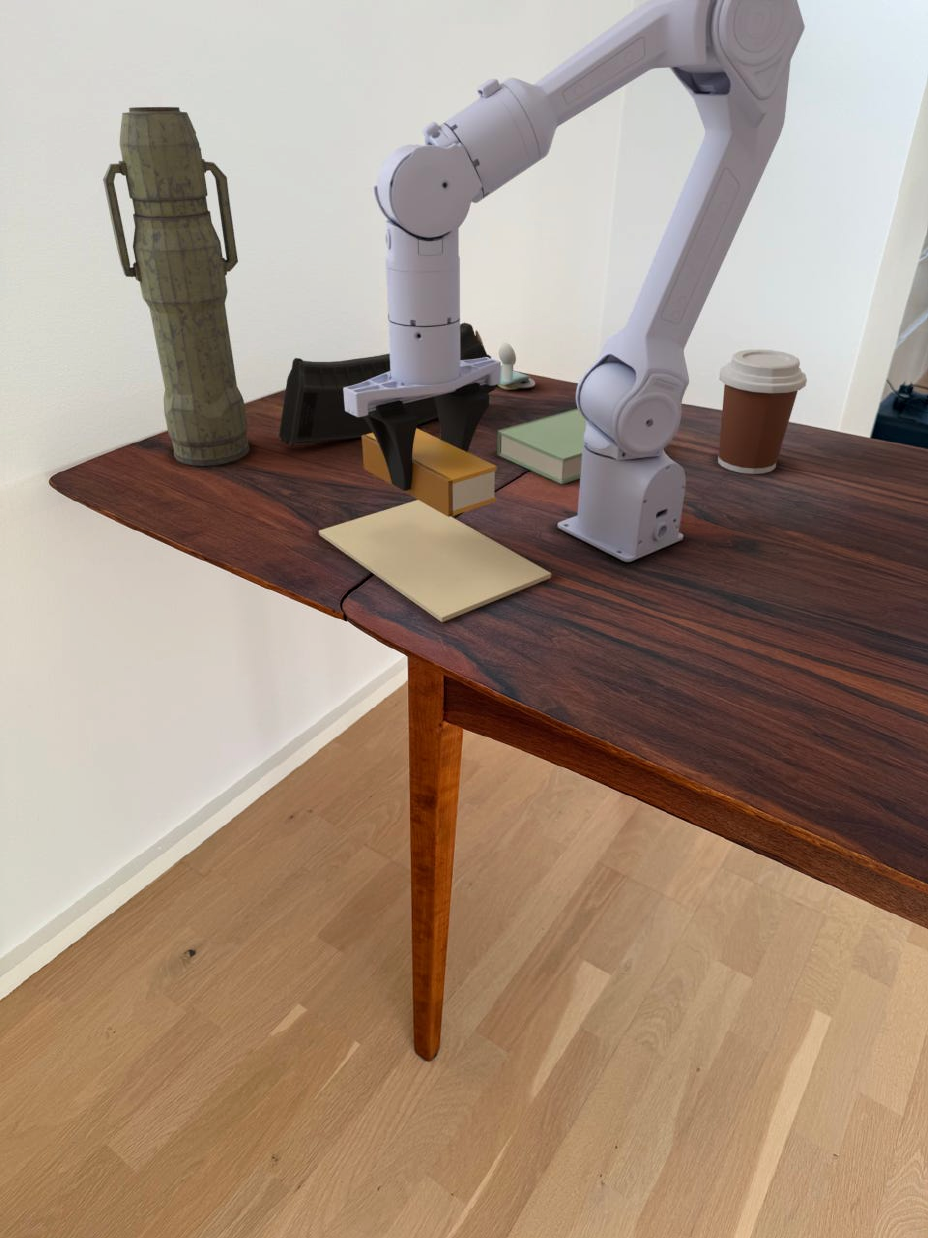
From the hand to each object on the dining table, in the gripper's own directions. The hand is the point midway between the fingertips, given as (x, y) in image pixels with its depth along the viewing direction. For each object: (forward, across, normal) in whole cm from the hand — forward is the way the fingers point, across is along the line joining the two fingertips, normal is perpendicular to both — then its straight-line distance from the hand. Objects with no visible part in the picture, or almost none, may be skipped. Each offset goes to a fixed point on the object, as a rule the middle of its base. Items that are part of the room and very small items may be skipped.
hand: (428, 478), depth 74 cm
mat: (+8, 0, 0) cm, 8 cm away
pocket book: (+1, 0, 0) cm, 1 cm away
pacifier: (+8, -40, -35) cm, 54 cm away
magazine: (+8, -17, -31) cm, 36 cm away
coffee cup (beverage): (+8, -42, +4) cm, 43 cm away
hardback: (+8, -29, -10) cm, 32 cm away
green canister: (+8, +5, -37) cm, 38 cm away
